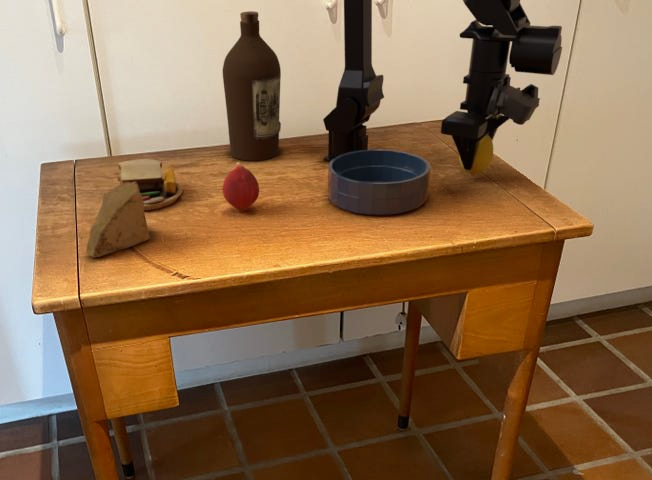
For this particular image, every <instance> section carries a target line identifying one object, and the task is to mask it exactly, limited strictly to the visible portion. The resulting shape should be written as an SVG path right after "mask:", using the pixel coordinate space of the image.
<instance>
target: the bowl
mask: <svg viewBox="0 0 652 480" xmlns="http://www.w3.org/2000/svg"><path fill="white" fill-rule="evenodd" d="M430 164H431V163H430V162H429V161H428V160H426V159H425V158H424V157H422V156H421V155H417V154H414V153H411V152H408V151H402V150H395V149H385V148H379V149H378V148H377V149H373V148H371V149H368V150H359V151H354V152H349V153H345V154H342V155H339V156H337V157H336V158H334V159H332V160H331V161H330V162H328V169H327V170H328V171H327V173H328V175H327V198H328V200H329V201H330V203H332V204H333V205H334V206H336V207H338V208H340V209H342V210H344V211H348V212H351V213H354V214H358V215H359V214H360V215H365V216H392V215H399V214H405V213H408V212H410V211H414V210H415V209H418V208H420V207H421V206H422V205H423V204H425V203H426V202H427V199H428V197H429V187H430V178H431V177H430V176H431V165H430Z"/></svg>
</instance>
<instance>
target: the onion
mask: <svg viewBox="0 0 652 480" xmlns="http://www.w3.org/2000/svg"><path fill="white" fill-rule="evenodd" d="M222 195H223V197H224V199H225V200H226V202H227V203H228V205H231V206H232V207H233V208H235V210H237V211H239V212H244V211H246V210H247V209H248V208H250V207H252V206H253V205H254V203H255V202H256V201H257V200H258V199H259V196H260V185H259V182H258V180H257V178H256V176H255V175H254V174H253V173H252V172H251V170H249V169H248V168H246V167H244V166H243V165H242V164H241V162H239V161H238V162H237V161H236V163H235V167H234V168H233V169H232V170H230V171H229V173H228V174H227V175H226V176H225V178H224V180H223V183H222Z"/></svg>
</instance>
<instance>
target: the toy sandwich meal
mask: <svg viewBox="0 0 652 480" xmlns="http://www.w3.org/2000/svg"><path fill="white" fill-rule="evenodd" d="M162 167H163V162H162V161H161V160H159V159H153V158H140V159H139V158H138V159H130V160H125V161H121V162H119V163H118V169H119V171H120V173H117V177H116V179H117V181H118V182H119V185H120V184H122V183H126V182H130V183H132V182H134V181H136V182H137V184H138V187H139V191H140V194H141V196H142V199H143V203H144V211H152V210H158V209H162V208H164V207H167V206H169V205H171V204H173V203H175V202H176V201H177V200H178V198H179V197H181V195H182V193H183V187H182V185H181V184H180V183H178V182H177V181H176V174H175V171H174V168H173V167H168V168H167V170H166V172H165V175H164V178H163V174H162ZM117 186H118V185H116V186H115V187H117ZM115 187H113V188H112V189H114V188H115Z"/></svg>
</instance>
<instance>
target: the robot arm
mask: <svg viewBox="0 0 652 480" xmlns="http://www.w3.org/2000/svg"><path fill="white" fill-rule="evenodd" d="M462 2H463V4H464V5H465V7H466V8H467V10H468V11H469V12H470V13H471V15H472V16H473V17H474V20H472V21H471V22H470V23H469V25H468V26H467V27H466V28H465V29H464V30H463V31H462V32H460V33H459V38H461V39H471V40H472V42H471V51H470V59H469V65H468V66H469V67H468V68H469V69H468V74H466V75H464V76H463V79H462V84H466V90H465V99H464V100H463V101H461V102H460V105H459V110H455V111H454V112H452V113H450V114H449V115H447V116H446V117H445V118H444V119H442V120H441V123H440V125H441V126H440V134H441V135H444V136H445V135H446V136H451V137H452V141H453V143H454V144H455V147H456V150H457V153H458V156H459V155H460V158H461V161H462V164H463V167H464V169H465V170H471V169H472V166H473V162H474V159H475V156H476V152H477V149H478V145H479V142H480V140H481V139H482V138H484V137H485V136H486V135H489V136H490V138H491V139H492V141H494V138H495V135H496V134H497V132H498V129H499V128H500V127H501V126H502V125H503V124H505V123H506V122H507V121H509V120H511V121H512V122H513V123H515V124H516V125H520V126H522V125H524V124H525V123H526V122H528V121H530V120H531V118H532V116H533V114H534V112H535V111H536V109H537V108H538V107H539V106H540V100H541V98H539V87H538V86H536V85H534V84H533V83H530V84H529V85H527V86H526V87H524V88H522V89H521V87H515V86H512V85H511V80H512V79H511V78H512V77H511V76H510V74H509V73H507V68H508V63H509V65H510V68H513V69H514V71H515V73H524V74H525V73H527V74H535V75H536V74H537V75H546V76H554V75H555V74H556V71H557V70H558V66H559V64H560V60H561V57H562V56H561V55H562V51H563V46H562V40H563V39H562V29H563V27H562V25H549V26H545V25H531V21H530V19H529V17H528V15H527V14H526V12H525V10H524V7H523V6H522V4H521V0H462ZM343 33H344V35H343V40H344V42H343V43H344V45H343V46H344V69H343V72H342V76H341V77H340V82H339V85H338V89H337V95H336V102H335V103H336V104H335V106H334V108H333V109H332V110H331V111H330V112H329V113H328V114H327V115H326V116H325V117H324V118H323V119H322V121H323V124H324V128H325V130H326V131H328V139H327V141H328V147H327V148H328V149H327V155H326V156H324V157H323V162H328V163H330V161H331V160H332V159H334V158H336V157H337V156H339V155H342V154H345V153H349V152H354V151H359V150H369V135H368V134H367V127H368V126H367V125H364V124H365V123H367V122H369V121H370V119H371V116H372V114H374V113H375V112H376V111H377V110H378V109H379V108H380V105H381V102H382V101H381V100H383V99H384V98H385V94H384V92H383V91H384V90H383V85H384V80H385V79H384V75H383V74H376V71H375V69H374V67H373V62H372V61H373V59H372V58H373V0H343ZM461 110H462V111H461ZM466 111H467V112H466ZM464 169H463V170H464ZM465 170H464V171H465Z"/></svg>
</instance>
